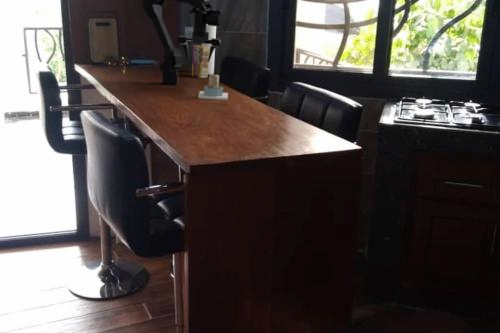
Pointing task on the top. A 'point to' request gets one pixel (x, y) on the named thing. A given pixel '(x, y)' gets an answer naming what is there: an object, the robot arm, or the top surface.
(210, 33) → the cylindrical container
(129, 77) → the top surface
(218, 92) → the cup bracket
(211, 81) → the rail post
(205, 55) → the candy box
